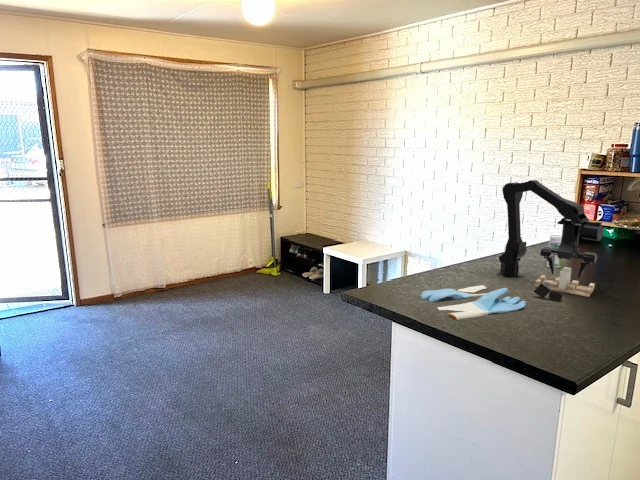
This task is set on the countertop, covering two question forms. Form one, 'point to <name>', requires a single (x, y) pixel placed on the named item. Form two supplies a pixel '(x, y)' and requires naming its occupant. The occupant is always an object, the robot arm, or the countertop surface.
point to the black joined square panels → (544, 290)
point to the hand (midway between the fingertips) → (565, 276)
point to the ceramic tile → (564, 278)
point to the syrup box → (555, 243)
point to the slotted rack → (572, 288)
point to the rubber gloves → (475, 307)
